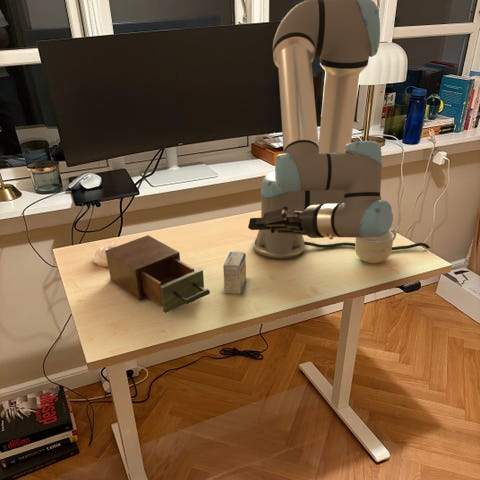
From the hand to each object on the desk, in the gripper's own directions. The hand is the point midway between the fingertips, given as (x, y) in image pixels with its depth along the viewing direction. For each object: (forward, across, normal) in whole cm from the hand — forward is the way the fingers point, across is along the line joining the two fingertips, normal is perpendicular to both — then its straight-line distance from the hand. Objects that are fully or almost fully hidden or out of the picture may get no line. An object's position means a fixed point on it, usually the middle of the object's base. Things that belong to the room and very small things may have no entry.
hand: (251, 224), depth 128 cm
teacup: (-14, +39, +5) cm, 42 cm away
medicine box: (+5, +5, -16) cm, 17 cm away
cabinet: (+24, -10, -20) cm, 33 cm away
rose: (+41, -13, -16) cm, 46 cm away
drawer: (+11, -9, -24) cm, 28 cm away
